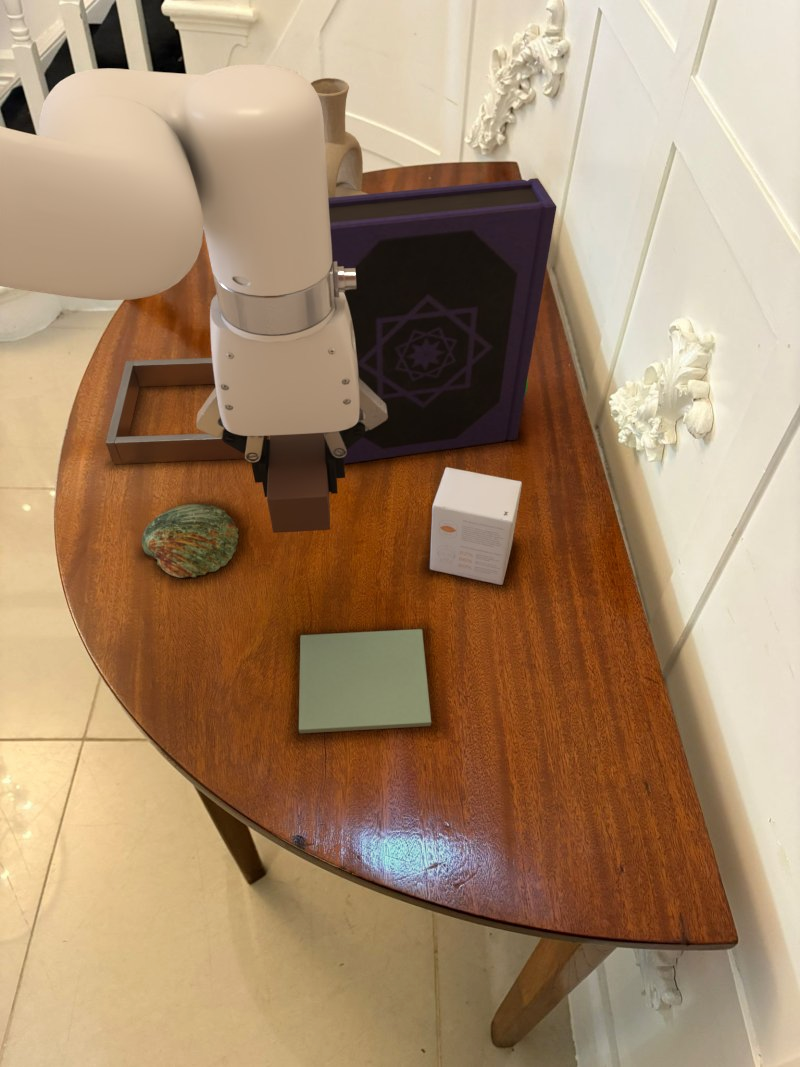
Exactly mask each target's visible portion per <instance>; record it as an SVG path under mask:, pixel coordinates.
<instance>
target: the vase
mask: <svg viewBox="0 0 800 1067" xmlns="http://www.w3.org/2000/svg"><path fill="white" fill-rule="evenodd" d="M310 83H311V85H312V86H313V87H314V89H315V91H316V93H317V95H318V97H319V99H320V103H321V107H322V114H323V123H324V138H325V154H326V170H327V186H328V198H332V197H343V196H354V195H364V194H368V193H367V192H365V191H362V186H363V172H364V171H363V170H364V167H363V166H364V162H363V151H362V147H361V145H360V141H359V140H357V138H356V137H355V136H354V135H353V134H352V133H350V132H348V131H347V130H346V107H347V99H348V98H347V97H348V93H349V90H350V86H349V84H348V82H346V81H345V80H343V79H340V78H335V77H322V78H317V79H315V80H313V81H311V82H310Z"/></svg>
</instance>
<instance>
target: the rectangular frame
mask: <svg viewBox="0 0 800 1067" xmlns="http://www.w3.org/2000/svg"><path fill="white" fill-rule="evenodd" d="M121 376H122V377H121V381H120V386H119V389H118V393H117V396H116V400H115V404H114V408H113V412H112V416H111V420H110V424H109V428H108V432H107V436H106V441H105V445H106V447H107V450H108V453H109V455H110V457H111V460H112V463H113V465H122V464H123V465H126V464H127V465H128V464H129V465H130V464H150V463H153V464H154V463H175V462H178V463H179V462H199V461H202V462H203V461H224V460H225V461H226V460H246V459H245V454H243V453H242V452H240V451H238V450H236V449H235V448H233V447H231V446H229V445H228V444H226V443H225V442H223V440H222V438H220V437H218V438H217V437H214V436H212V435H209V434H207V433H183V434H162V435H161V434H160V435H159V434H156V435H131V436H130V433H131V428H132V424H133V419H134V414H135V409H136V405H137V401H138V396H139V392H140V389H141V388H145V387H146V388H147V387H175V386H200V385H204V386H205V385H215V379H214V371H213V362H212V357H202V358H200V357H199V358H173V359H172V358H171V359H167V358H166V359H141V360H140V359H139V360H126V361H125V364H124V368H123V372H122V375H121Z"/></svg>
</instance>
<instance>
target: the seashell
mask: <svg viewBox="0 0 800 1067" xmlns="http://www.w3.org/2000/svg"><path fill="white" fill-rule="evenodd" d="M238 533H239V528H238V527H237V526H236V523H235V522H234V520H233V518H232V517H231V516H229V515H228V513H227V512H226V510H224V509H221V508H220V507H219V506H215V505H210V504H204V503H188V504H182V505H178V506H175V507H173V508H170V509H167V510H166V511H164V512H162V513H160V514H159V515H157V516H156V517H155V518H154V519H153V520H152V521H151V522H149V523H148V525H146V527H145V529H144V531H143V533H142V536H141V547H142V550H143V552H144V553H145V554H146V555H148V556H149V557H151V558H153V559H155V560H157V562H156V565H157V566H158V567H160V568H161V570H162V571H163V572H165V573H167V574H168V575H170V576H173V577H176V578H181V579H184V578H189V577H191V578H197V577H198V576H205V575H207V573H214V572H216V571H218V570H220V568H221V567H225V566H227V565H228V563H229V561H230V560H232V558H233V557H234V554H235V553H236V551H237V546H238V539H239V537H240V536H239V534H238Z"/></svg>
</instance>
